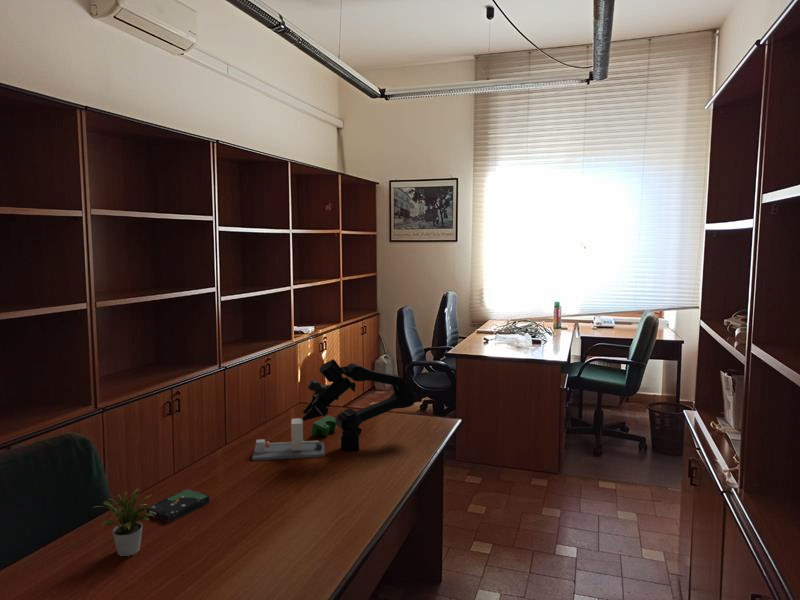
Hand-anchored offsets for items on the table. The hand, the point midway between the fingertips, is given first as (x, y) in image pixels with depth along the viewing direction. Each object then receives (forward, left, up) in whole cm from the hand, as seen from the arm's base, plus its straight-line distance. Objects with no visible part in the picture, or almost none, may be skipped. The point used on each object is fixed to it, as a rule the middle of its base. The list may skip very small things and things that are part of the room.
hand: (303, 416), depth 215 cm
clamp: (-9, -19, -14) cm, 26 cm away
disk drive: (+36, +40, -15) cm, 56 cm away
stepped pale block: (+2, 0, -12) cm, 13 cm away
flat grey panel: (+5, 0, -14) cm, 15 cm away
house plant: (+44, +64, -14) cm, 79 cm away
